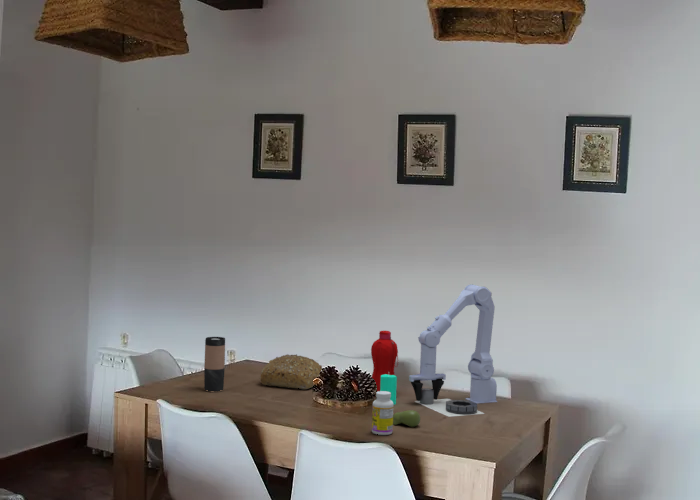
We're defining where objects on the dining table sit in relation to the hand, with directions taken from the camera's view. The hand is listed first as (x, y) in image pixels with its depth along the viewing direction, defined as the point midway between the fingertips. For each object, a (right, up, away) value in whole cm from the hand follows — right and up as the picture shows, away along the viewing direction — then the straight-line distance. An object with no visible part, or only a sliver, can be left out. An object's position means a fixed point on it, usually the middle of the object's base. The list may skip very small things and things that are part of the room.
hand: (426, 399), depth 292 cm
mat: (+7, -2, -5) cm, 9 cm away
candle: (-14, -1, -2) cm, 15 cm away
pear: (-10, -3, -31) cm, 33 cm away
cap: (0, -1, 0) cm, 1 cm away
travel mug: (-80, +1, +11) cm, 81 cm away
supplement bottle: (-18, -3, -42) cm, 45 cm away
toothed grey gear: (+11, -2, -10) cm, 15 cm away
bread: (-51, +1, +27) cm, 58 cm away
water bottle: (-15, -1, +11) cm, 18 cm away
